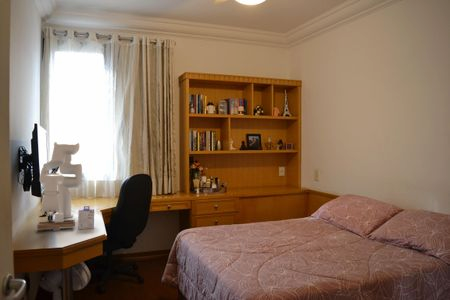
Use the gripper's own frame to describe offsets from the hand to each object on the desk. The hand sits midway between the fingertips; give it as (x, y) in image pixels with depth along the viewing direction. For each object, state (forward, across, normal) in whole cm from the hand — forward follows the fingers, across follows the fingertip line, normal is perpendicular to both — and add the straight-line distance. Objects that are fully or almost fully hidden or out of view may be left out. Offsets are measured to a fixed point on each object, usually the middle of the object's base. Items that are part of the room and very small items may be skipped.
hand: (50, 221), depth 221 cm
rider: (+1, -5, 0) cm, 5 cm away
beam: (+6, -4, 0) cm, 7 cm away
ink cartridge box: (+6, -22, +2) cm, 23 cm away
